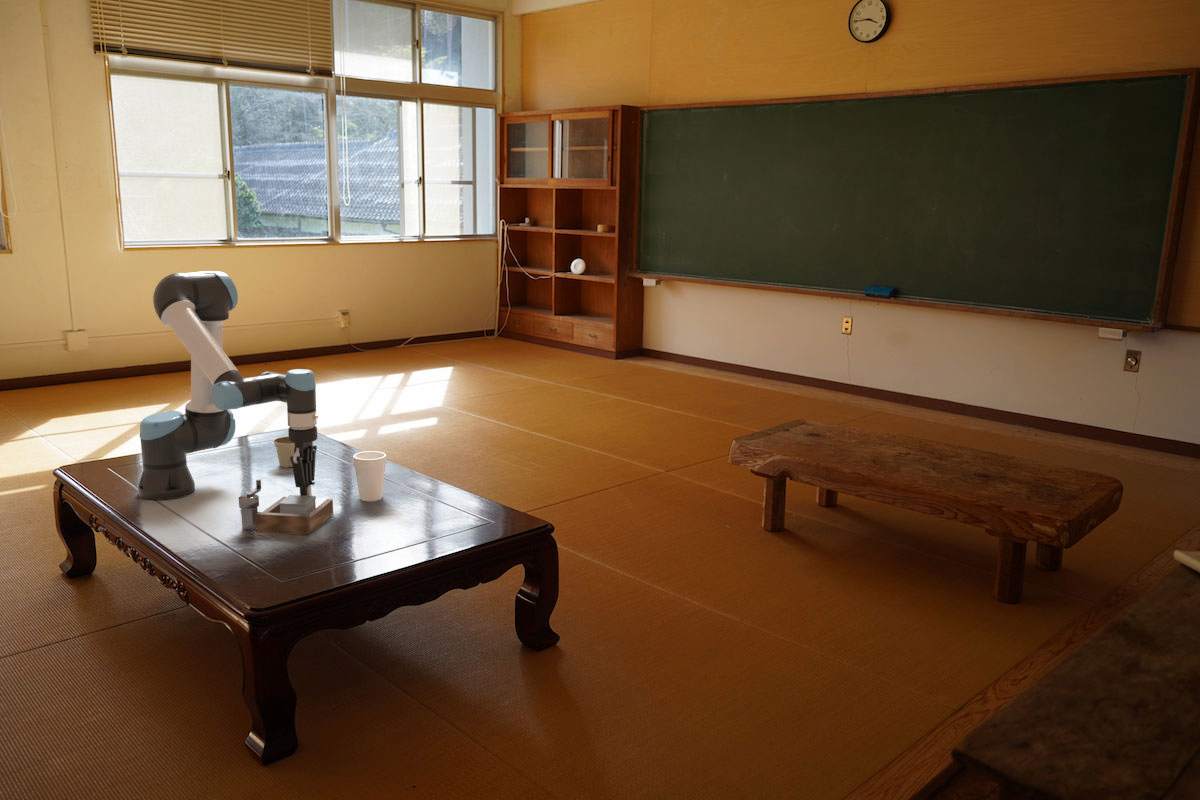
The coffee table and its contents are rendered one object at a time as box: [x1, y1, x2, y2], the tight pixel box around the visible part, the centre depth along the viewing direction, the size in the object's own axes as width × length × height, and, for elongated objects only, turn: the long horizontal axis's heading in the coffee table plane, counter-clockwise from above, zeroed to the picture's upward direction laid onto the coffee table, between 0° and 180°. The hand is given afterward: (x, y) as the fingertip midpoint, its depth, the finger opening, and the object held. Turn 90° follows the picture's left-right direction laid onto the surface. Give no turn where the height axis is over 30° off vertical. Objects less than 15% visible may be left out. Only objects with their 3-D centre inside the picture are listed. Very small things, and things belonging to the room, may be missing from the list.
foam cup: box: [352, 450, 387, 502], centre depth 270 cm, size 10×9×13 cm
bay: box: [254, 496, 334, 536], centre depth 249 cm, size 14×18×5 cm
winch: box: [238, 479, 262, 531], centre depth 246 cm, size 5×9×11 cm, turn 175°
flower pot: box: [272, 435, 295, 469], centre depth 301 cm, size 9×9×9 cm
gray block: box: [279, 494, 317, 515], centre depth 250 cm, size 7×7×6 cm
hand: (306, 508), depth 256 cm, fingers closed
